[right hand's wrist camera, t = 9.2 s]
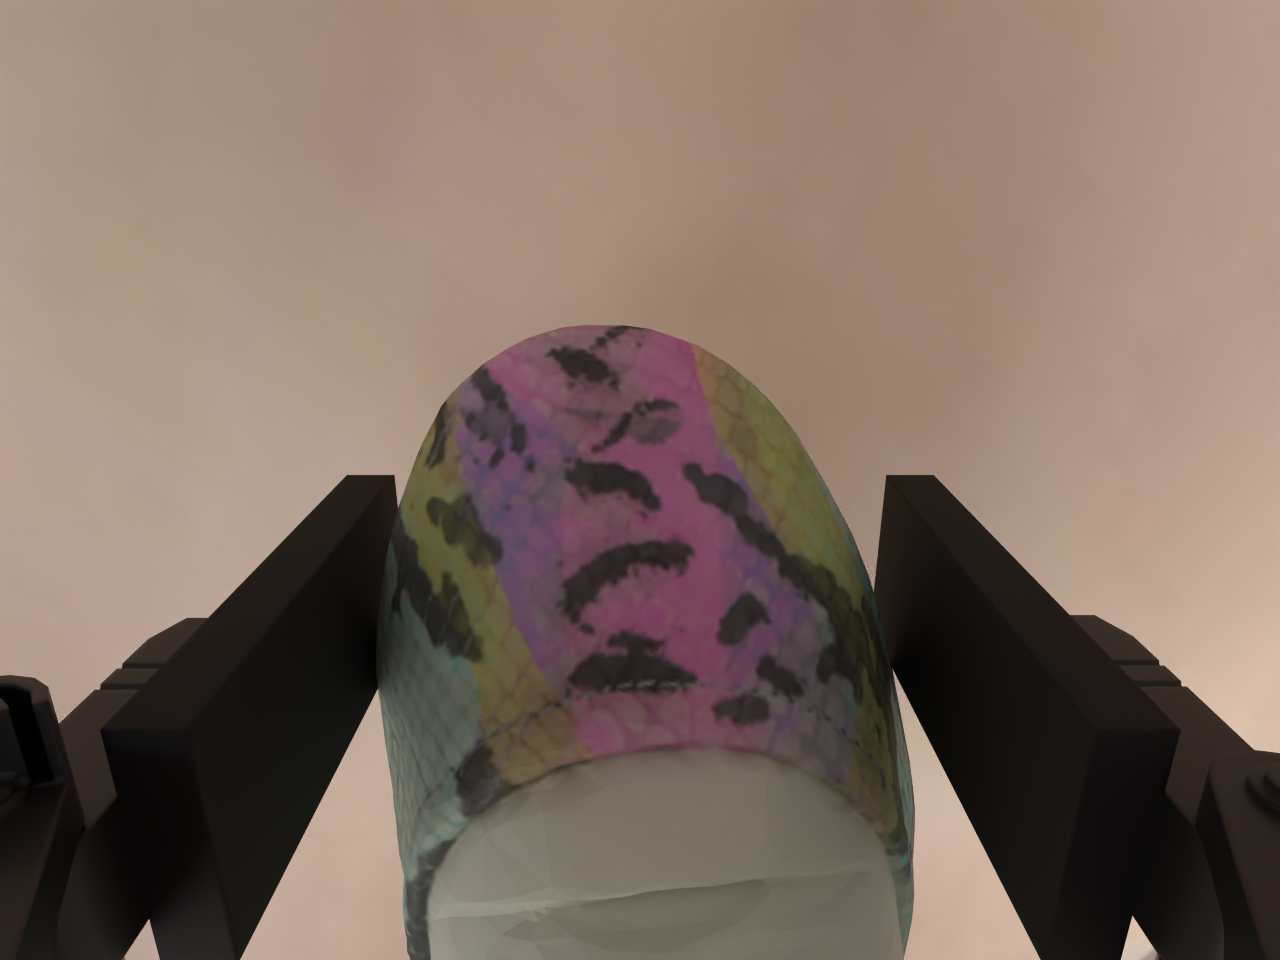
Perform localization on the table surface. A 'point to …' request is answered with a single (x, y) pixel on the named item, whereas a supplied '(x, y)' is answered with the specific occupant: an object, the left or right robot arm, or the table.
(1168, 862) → the right robot arm
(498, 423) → the ballet flat
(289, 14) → the table surface
